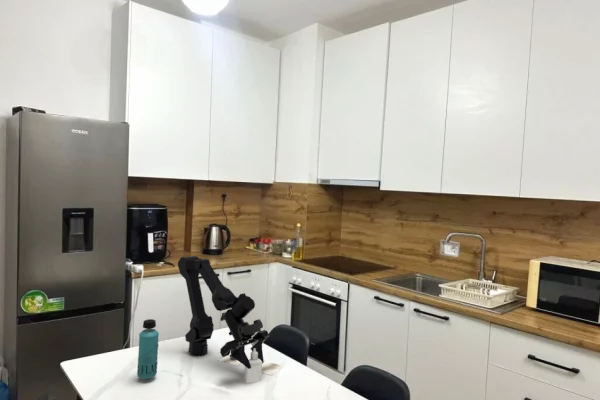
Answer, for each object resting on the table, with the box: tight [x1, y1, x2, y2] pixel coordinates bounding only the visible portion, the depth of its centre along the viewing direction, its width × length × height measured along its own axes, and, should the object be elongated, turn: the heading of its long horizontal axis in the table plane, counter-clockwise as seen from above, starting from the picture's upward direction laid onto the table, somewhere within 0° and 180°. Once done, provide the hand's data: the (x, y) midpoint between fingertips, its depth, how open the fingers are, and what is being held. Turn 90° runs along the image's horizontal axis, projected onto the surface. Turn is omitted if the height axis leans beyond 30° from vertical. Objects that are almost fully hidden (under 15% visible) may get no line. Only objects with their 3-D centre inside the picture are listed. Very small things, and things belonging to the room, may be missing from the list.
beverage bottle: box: [136, 318, 160, 380], centre depth 136 cm, size 6×7×20 cm
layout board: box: [217, 351, 284, 376], centre depth 150 cm, size 24×12×1 cm, turn 65°
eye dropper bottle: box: [243, 348, 263, 384], centre depth 138 cm, size 4×6×12 cm
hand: (256, 365), depth 137 cm, fingers open, 6 cm apart
